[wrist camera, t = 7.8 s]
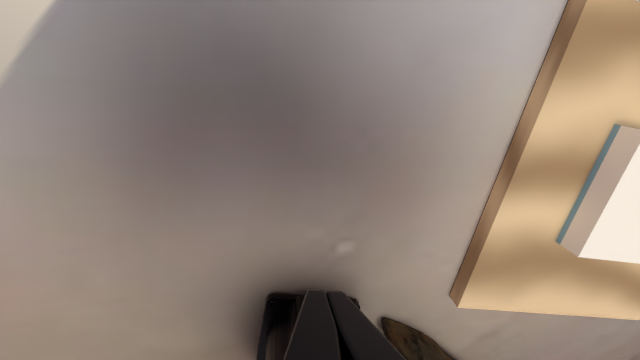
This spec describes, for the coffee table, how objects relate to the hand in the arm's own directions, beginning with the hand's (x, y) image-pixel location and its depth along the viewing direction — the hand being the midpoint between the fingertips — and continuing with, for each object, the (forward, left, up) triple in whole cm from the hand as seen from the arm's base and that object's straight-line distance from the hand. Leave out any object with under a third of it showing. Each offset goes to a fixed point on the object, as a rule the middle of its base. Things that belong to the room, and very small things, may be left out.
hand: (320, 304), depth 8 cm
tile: (+1, -18, -10) cm, 21 cm away
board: (+1, -21, -12) cm, 24 cm away
